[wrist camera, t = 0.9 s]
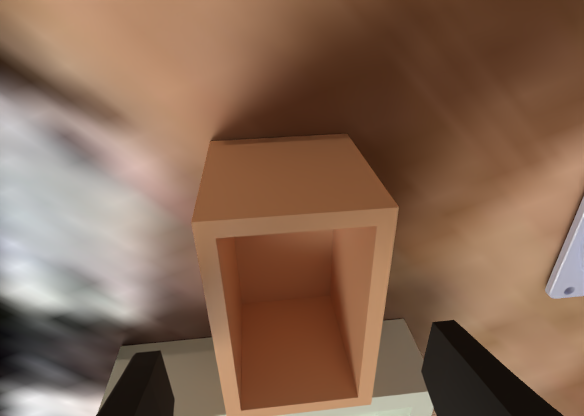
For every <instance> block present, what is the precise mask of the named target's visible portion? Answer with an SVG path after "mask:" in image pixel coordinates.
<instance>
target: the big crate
mask: <svg viewBox="0 0 584 416" xmlns="http://www.w3.org/2000/svg"><path fill="white" fill-rule="evenodd" d="M158 350H161V353H162V357H163V360H164V364H165V367H166V371H167V374H168V378H169V381H170V384H171V388H172V391H173V395H174V398H175V403H174V414H173V416H226V410H225V405H224V399H223V394H222V388H221V383H220V377H219V372H218V366H217V361H216V355H215V350H214V344H213V339H212V337H211V338H201V339H190V340H180V341H170V342H159V343H149V344H139V345H129V346H121V348H120V350H119V353H118V356H117V359H116V362H115V365H114V368H113V371H112V373H111V376H110V379H109V382H108V385H107V388H106V391H105V393H104V396H103V399H102V402H101V405H100V408H99V411H100V409H101V407H102V406H103V404H104V403H105V401H106V399H107V398H108V396H109V395H110V393H111V392H112V390H113V388H114V387H115V385H116V383H117V382H118V380H119V378H120V377H121V375H122V373H123V372H124V370H125V368H126V367H127V365H128V363H129V362H130V360H131V358H132V356H133V355H134V354H135V353H139V352H149V351H158ZM423 361H424V359H423V357H422V355H421V353H420V351H419V349H418V347H417V345H416V343H415V340H414V338H413V336H412V334H411V332H410V330H409V328H408V326H407V324H406V322H405V320H404V319H396V320H385V321H383V324H382V331H381V338H380V345H379V352H378V359H377V366H376V373H375V381H374V388H373V395H372V402H371V405H363V406H355V407H346V408H337V409H329V410H320V411H311V412H303V413H294V414H285V415H277V416H431V415H432V412H433V408H434V407H433V404H432V402H431V399H430V396H429V393H428V391H427V388H426V385H425V382H424V379H423V376H422V373H421V370H422V365H423ZM99 411H98V412H99Z"/></svg>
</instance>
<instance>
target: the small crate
mask: <svg viewBox="0 0 584 416" xmlns="http://www.w3.org/2000/svg"><path fill="white" fill-rule="evenodd" d="M398 210H399V207H398V205H397V204H396V202H395V201H394V200H393V198H392V197H391V195H390V194H389V193H388V191H387V190H386V188H385V187H384V185H383V184H382V183H381V181H380V180H379V178H378V177H377V175H376V174H375V173H374V171H373V170H372V168H371V167H370V166H369V164H368V163H367V161H366V160H365V158H364V157H363V156H362V154H361V153H360V151H359V150H358V148H357V147H356V146H355V144H354V143H353V141H352V140H351V138H350V137H349V136H348V134H329V135H311V136H293V137H275V138H257V139H239V140H221V141H210V144H209V148H208V153H207V157H206V161H205V166H204V170H203V174H202V179H201V183H200V187H199V192H198V196H197V200H196V204H195V209H194V213H193V217H192V222H191V223H192V229H193V234H194V240H195V245H196V251H197V256H198V262H199V267H200V273H201V278H202V284H203V289H204V295H205V300H206V306H207V311H208V317H209V322H210V328H211V333H212V339H213V344H214V350H215V355H216V361H217V366H218V372H219V377H220V383H221V388H222V394H223V399H224V405H225V410H226V416H277V415H285V414H294V413H303V412H311V411H320V410H329V409H337V408H346V407H355V406H363V405H371V402H372V395H373V388H374V381H375V373H376V366H377V359H378V352H379V345H380V338H381V331H382V324H383V317H384V310H385V303H386V295H387V288H388V281H389V274H390V267H391V260H392V253H393V246H394V239H395V232H396V224H397V217H398Z"/></svg>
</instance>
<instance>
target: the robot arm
mask: <svg viewBox="0 0 584 416" xmlns="http://www.w3.org/2000/svg"><path fill="white" fill-rule="evenodd" d="M545 291H546V293H547V294H548V295H549V296H550V297H551V298H566V297H577V296H584V197H583V199H582V202H581V204H580V206H579V209H578V211H577V214H576V216H575V218H574V221H573V223H572V226H571V228H570V230H569V233H568V235H567V238H566V240H565V242H564V245H563V247H562V249H561V252H560V254H559V257H558V259H557V261H556V264H555V266H554V269H553V271H552V273H551V276H550V278H549V281H548V283H547V285H546V288H545ZM421 373H422V376H423V379H424V382H425V385H426V388H427V391H428V393H429V396H430V399H431V402H432V404H433V407H434V410H435V412H436V414H437V416H563V415H562V414H561V413H560V412H558V411H557V410H556V409H555V408H553V407H552V406H551V405H550V404H548V403H547V402H546V401H545V400H544V399H542V398H541V397H540V396H539V395H538V394H536V393H535V392H534V391H533V390H532V389H531V388H530V387H528V386H527V385H526V384H525V383H524V382H523V381H521V380H520V379H519V378H518V377H517V376H516V375H514V374H513V373H512V372H511V371H510V370H509V369H508V368H507V367H505V366H504V365H503V364H502V363H501V362H500V361H499V360H498V359H496V358H495V357H494V356H493V355H492V354H491V353H490V352H489V351H488V350H487V349H485V348H484V347H483V346H482V345H481V344H480V343H479V342H478V341H477V340H476V339H474V338H473V337H472V336H471V335H470V334H469V333H468V332H467V331H466V330H465V329H464V328H462V327H461V326H460V325H459V324H458V323H457V322H456V321H455V320H450V321H440V322H432V327H431V331H430V335H429V340H428V344H427V348H426V352H425V357H424V361H423V365H422V370H421ZM174 403H175V398H174V395H173V391H172V388H171V384H170V381H169V378H168V374H167V371H166V367H165V364H164V360H163V357H162V353H161V350H158V351H149V352H139V353H135V354H134V355H133V356H132V358H131V360H130V362H129V363H128V365H127V367H126V368H125V370H124V372H123V373H122V375H121V377H120V378H119V380H118V382H117V383H116V385H115V387H114V388H113V390H112V392H111V393H110V395H109V396H108V398H107V399H106V401H105V403H104V404H103V406H102V407H101V409H100V411H99V412H98V414H97V415H96V416H173V414H174Z"/></svg>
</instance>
